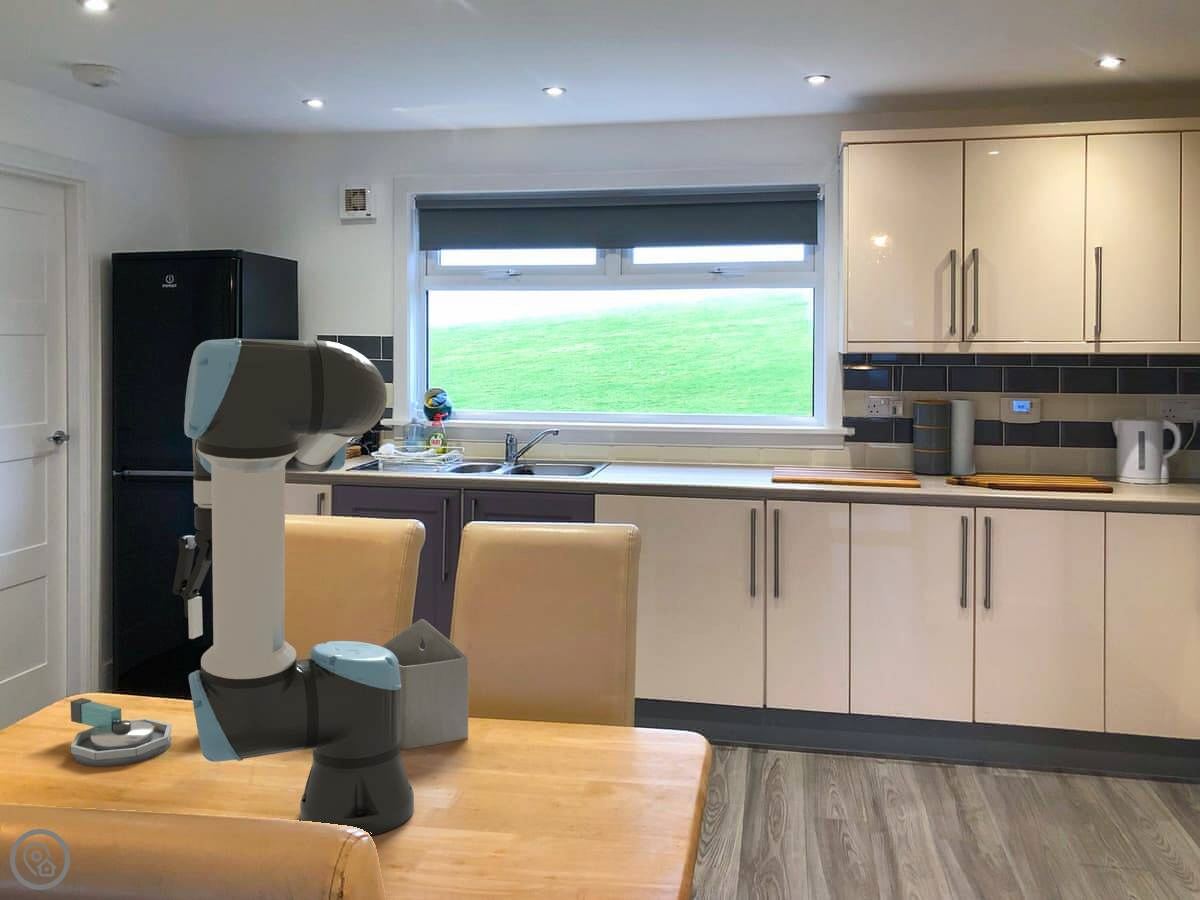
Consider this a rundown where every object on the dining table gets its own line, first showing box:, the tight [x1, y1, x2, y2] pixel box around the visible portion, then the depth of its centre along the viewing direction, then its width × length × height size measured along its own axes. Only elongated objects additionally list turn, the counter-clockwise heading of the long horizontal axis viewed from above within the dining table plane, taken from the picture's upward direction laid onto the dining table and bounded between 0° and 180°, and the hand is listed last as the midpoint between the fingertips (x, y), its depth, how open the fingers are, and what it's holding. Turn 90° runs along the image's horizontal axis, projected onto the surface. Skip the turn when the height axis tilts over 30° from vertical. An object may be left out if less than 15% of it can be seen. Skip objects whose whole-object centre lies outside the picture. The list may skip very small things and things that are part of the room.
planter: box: [380, 618, 469, 751], centre depth 164 cm, size 16×8×19 cm, turn 75°
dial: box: [70, 697, 154, 751], centre depth 162 cm, size 16×9×5 cm, turn 63°
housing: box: [70, 718, 172, 768], centre depth 161 cm, size 14×14×2 cm
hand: (221, 638), depth 168 cm, fingers open, 9 cm apart
